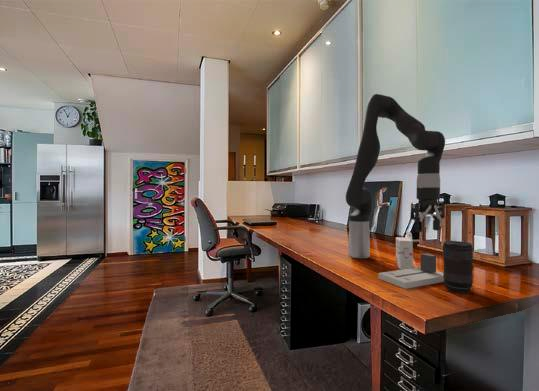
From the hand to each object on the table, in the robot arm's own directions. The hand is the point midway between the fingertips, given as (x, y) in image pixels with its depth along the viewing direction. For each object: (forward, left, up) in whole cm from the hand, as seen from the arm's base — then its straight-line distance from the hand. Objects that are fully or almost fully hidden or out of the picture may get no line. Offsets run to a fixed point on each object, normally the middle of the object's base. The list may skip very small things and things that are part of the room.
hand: (427, 231), depth 106 cm
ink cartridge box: (-14, +3, -17) cm, 22 cm away
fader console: (0, -7, -17) cm, 18 cm away
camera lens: (+13, -3, -17) cm, 22 cm away
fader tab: (0, 0, -15) cm, 15 cm away
